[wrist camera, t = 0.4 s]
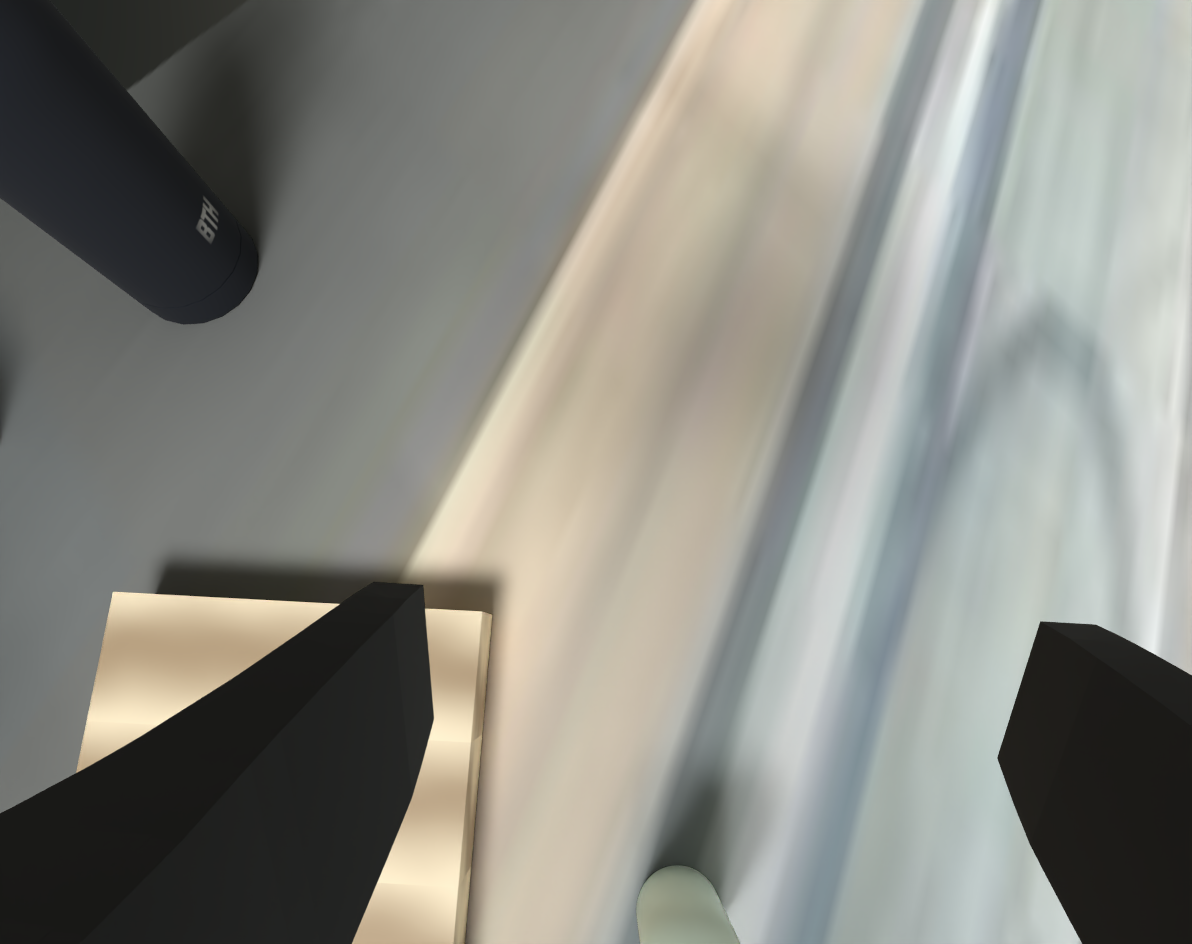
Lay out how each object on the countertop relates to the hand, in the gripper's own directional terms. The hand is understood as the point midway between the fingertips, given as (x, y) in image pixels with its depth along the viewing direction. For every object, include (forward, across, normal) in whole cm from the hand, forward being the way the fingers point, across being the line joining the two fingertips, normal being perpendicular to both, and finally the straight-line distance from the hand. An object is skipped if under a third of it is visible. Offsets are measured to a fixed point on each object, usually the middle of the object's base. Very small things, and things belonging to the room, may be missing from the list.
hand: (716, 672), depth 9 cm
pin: (+14, -2, +24) cm, 28 cm away
